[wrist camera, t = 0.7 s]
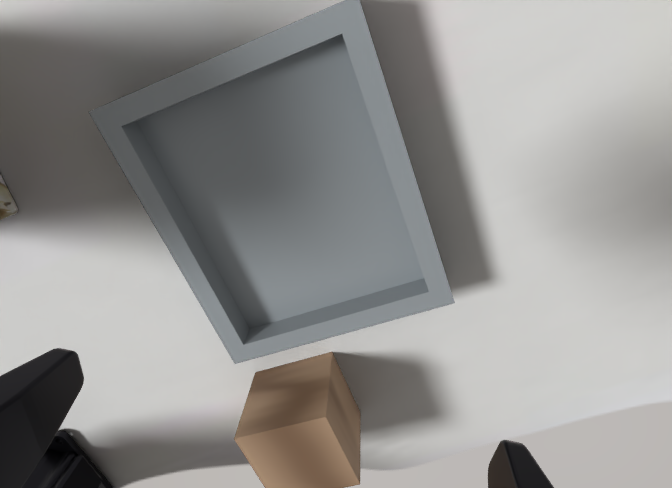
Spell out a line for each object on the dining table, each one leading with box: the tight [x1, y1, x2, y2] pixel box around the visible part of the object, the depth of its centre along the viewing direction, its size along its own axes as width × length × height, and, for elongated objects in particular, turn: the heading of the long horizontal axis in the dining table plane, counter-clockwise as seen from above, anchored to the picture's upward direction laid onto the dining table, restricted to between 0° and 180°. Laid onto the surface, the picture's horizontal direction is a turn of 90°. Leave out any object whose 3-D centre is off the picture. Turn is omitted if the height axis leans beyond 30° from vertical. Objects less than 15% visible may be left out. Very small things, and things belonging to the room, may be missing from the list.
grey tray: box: [89, 0, 455, 364], centre depth 21 cm, size 12×14×2 cm
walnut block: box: [234, 352, 360, 488], centre depth 25 cm, size 5×5×5 cm
